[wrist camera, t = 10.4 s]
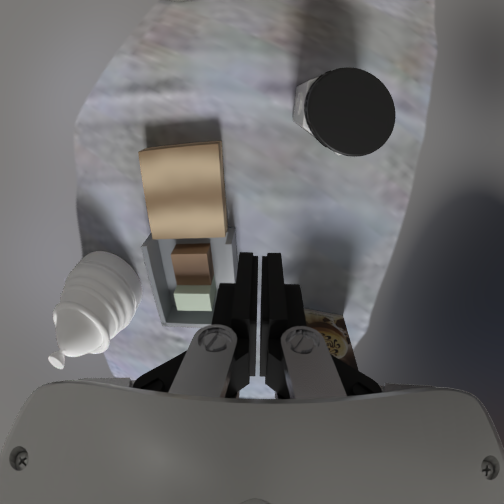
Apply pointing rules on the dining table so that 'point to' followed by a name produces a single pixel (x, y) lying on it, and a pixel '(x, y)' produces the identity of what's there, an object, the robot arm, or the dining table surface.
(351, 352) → the coffee box
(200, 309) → the tile far
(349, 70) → the jar
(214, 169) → the board
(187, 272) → the tile near
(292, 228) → the dining table surface
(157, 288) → the tray
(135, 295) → the honey pot
